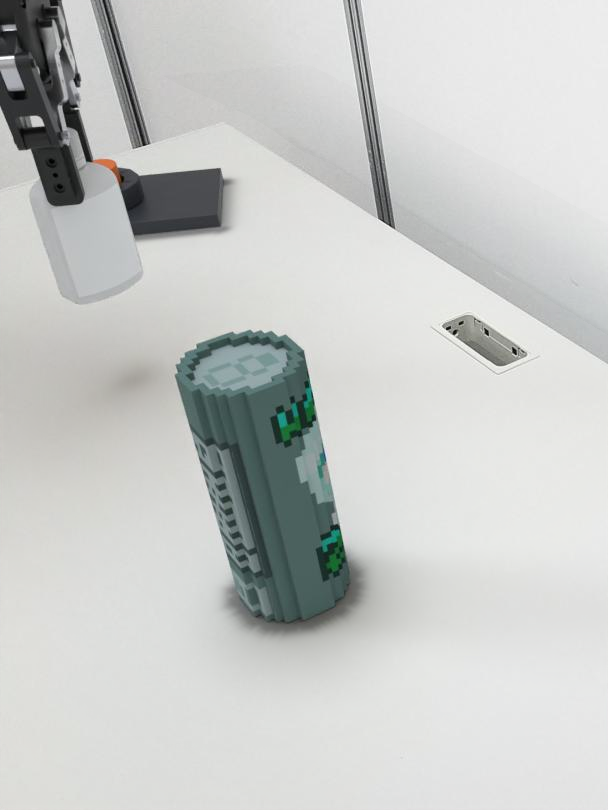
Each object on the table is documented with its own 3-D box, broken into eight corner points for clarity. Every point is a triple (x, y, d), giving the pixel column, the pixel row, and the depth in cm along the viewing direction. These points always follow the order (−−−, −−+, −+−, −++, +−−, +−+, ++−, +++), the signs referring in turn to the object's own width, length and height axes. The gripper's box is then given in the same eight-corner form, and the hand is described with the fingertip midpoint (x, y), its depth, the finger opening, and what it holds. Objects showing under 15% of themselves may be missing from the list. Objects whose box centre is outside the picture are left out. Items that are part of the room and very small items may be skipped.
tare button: (84, 194, 106) (78, 174, 105) (88, 180, 108) (82, 160, 107) (120, 190, 107) (114, 171, 105) (123, 176, 109) (117, 157, 108)
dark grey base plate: (71, 242, 105) (60, 209, 103) (84, 193, 112) (74, 161, 110) (220, 227, 107) (212, 194, 105) (223, 180, 114) (216, 148, 112)
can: (366, 591, 72) (322, 366, 61) (270, 636, 69) (208, 409, 59) (317, 538, 75) (268, 318, 65) (224, 579, 72) (158, 357, 62)
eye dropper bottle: (150, 294, 84) (100, 117, 76) (63, 310, 83) (4, 132, 74) (142, 266, 87) (94, 93, 79) (59, 281, 86) (1, 106, 77)
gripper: (-65, -137, 73) (27, 147, 85) (-119, -73, 63) (-6, 241, 74) (67, -144, 74) (140, 138, 86) (35, -82, 64) (123, 229, 75)
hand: (72, 184), depth 80 cm, fingers closed on eye dropper bottle, 4 cm apart
